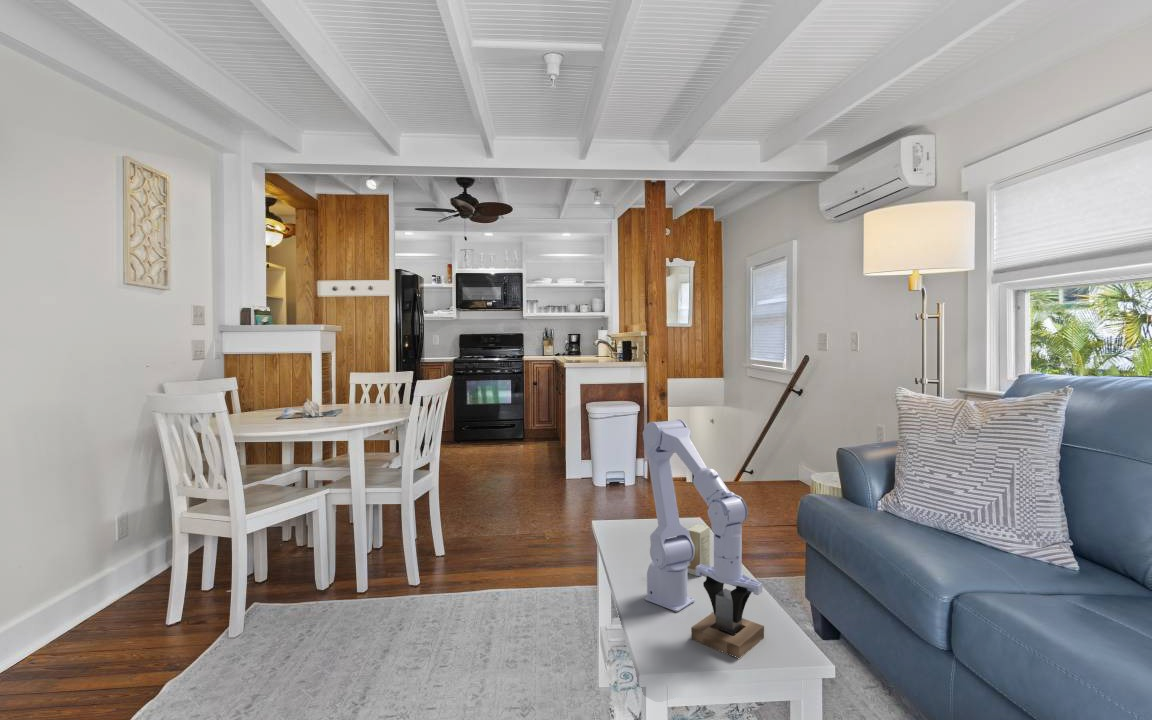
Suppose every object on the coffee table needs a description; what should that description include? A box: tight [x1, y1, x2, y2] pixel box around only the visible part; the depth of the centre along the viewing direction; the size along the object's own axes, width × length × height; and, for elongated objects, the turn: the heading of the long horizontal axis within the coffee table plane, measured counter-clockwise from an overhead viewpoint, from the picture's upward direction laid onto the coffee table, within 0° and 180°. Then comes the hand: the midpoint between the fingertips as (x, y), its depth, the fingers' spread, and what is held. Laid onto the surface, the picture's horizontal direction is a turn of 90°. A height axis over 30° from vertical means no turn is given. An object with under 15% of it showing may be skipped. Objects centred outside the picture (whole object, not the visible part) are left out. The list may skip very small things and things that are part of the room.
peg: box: [716, 588, 742, 635], centre depth 116 cm, size 4×4×7 cm
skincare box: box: [687, 523, 711, 577], centre depth 151 cm, size 6×4×12 cm
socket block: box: [690, 611, 765, 659], centre depth 116 cm, size 11×11×2 cm
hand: (727, 617), depth 116 cm, fingers closed on peg, 4 cm apart
